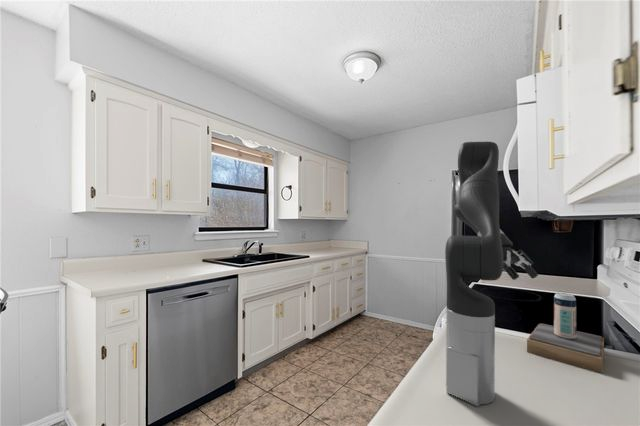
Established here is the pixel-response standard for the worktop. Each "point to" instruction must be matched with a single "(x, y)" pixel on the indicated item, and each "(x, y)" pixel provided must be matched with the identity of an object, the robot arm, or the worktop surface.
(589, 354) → the dock
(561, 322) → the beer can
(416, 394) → the worktop surface
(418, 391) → the worktop surface
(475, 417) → the worktop surface
